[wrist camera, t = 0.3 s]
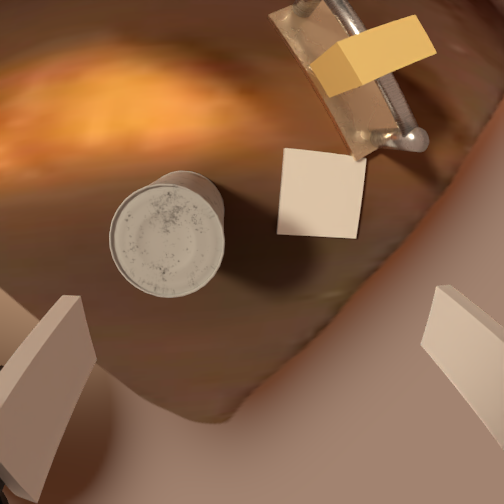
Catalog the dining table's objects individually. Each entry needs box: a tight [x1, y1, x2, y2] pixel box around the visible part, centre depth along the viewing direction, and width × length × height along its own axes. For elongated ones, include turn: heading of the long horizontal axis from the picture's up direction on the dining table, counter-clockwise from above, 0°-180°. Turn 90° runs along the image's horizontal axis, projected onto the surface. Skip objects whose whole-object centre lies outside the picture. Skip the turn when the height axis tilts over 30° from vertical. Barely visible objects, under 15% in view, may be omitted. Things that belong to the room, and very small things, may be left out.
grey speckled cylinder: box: [109, 171, 225, 298], centre depth 31 cm, size 10×10×12 cm
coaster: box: [277, 148, 367, 239], centre depth 37 cm, size 10×10×1 cm
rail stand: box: [267, 0, 429, 161], centre depth 28 cm, size 20×8×10 cm, turn 31°
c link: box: [310, 15, 437, 98], centre depth 24 cm, size 9×4×8 cm, turn 121°
